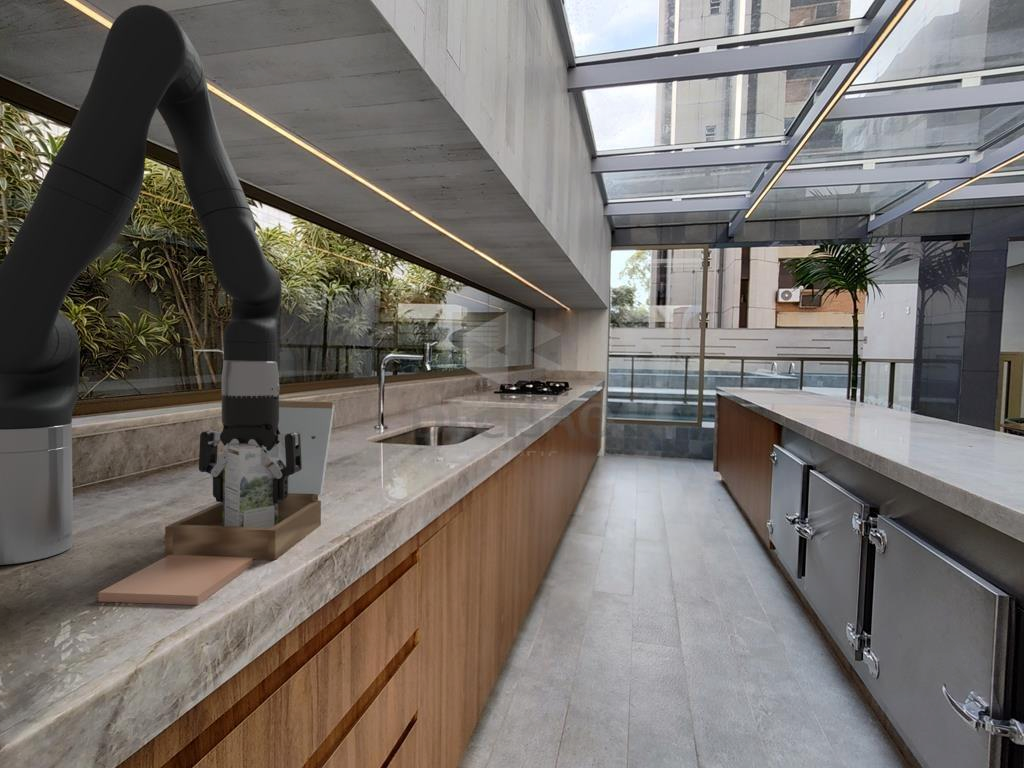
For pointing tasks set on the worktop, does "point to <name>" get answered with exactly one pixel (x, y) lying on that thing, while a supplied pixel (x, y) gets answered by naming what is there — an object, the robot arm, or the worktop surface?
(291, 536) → the wooden box
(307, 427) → the lid
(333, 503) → the worktop surface
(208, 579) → the tile
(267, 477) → the syrup box
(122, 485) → the worktop surface
